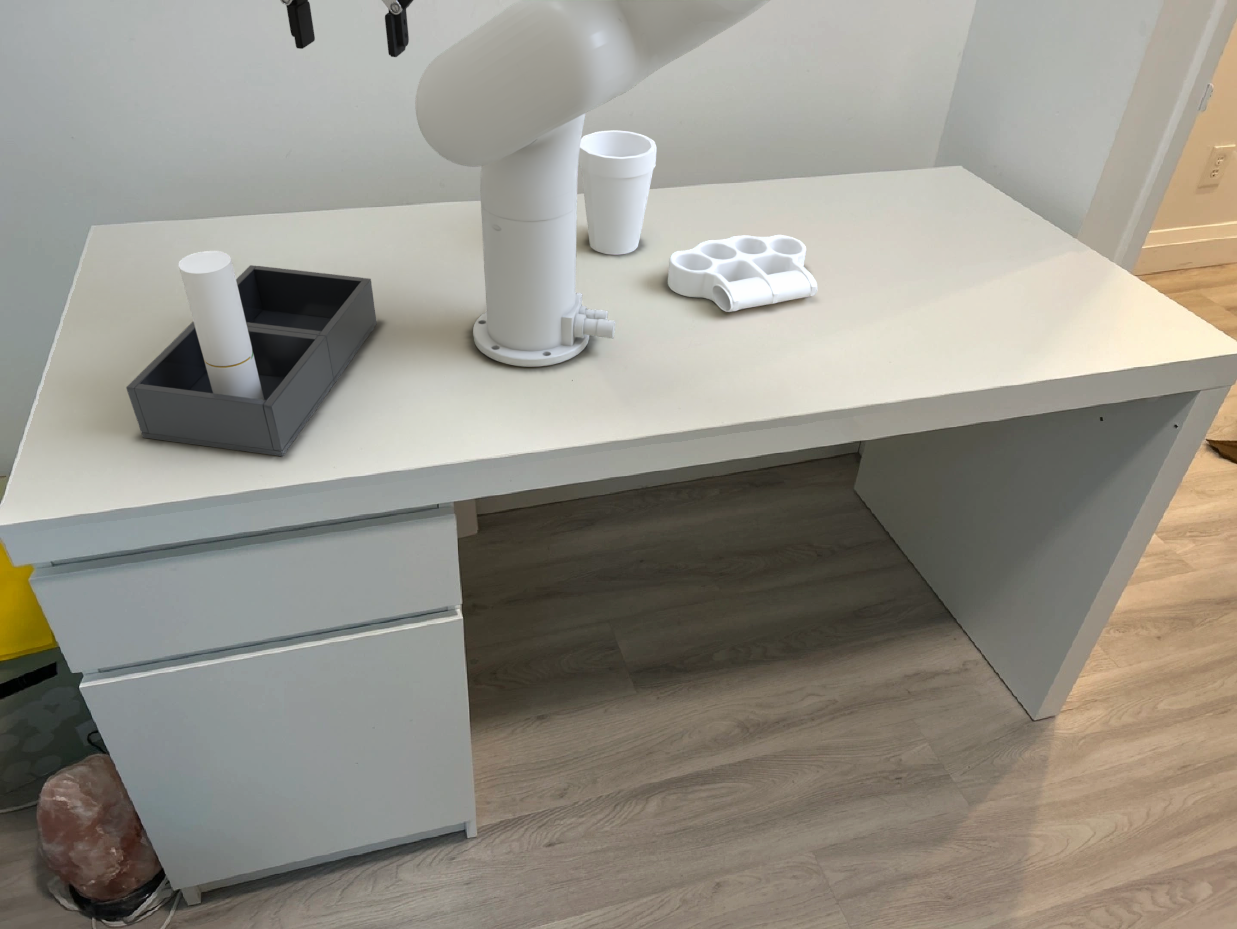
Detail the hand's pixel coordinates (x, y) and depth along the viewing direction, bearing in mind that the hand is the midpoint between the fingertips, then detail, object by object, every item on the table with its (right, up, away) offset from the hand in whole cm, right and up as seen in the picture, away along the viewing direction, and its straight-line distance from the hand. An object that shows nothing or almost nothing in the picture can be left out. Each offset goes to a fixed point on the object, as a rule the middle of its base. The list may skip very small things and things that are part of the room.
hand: (351, 49), depth 97 cm
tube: (-9, -36, -5) cm, 38 cm away
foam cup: (+26, -14, +27) cm, 40 cm away
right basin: (-7, -29, +5) cm, 31 cm away
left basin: (-9, -37, -4) cm, 38 cm away
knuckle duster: (+42, -20, +20) cm, 51 cm away
